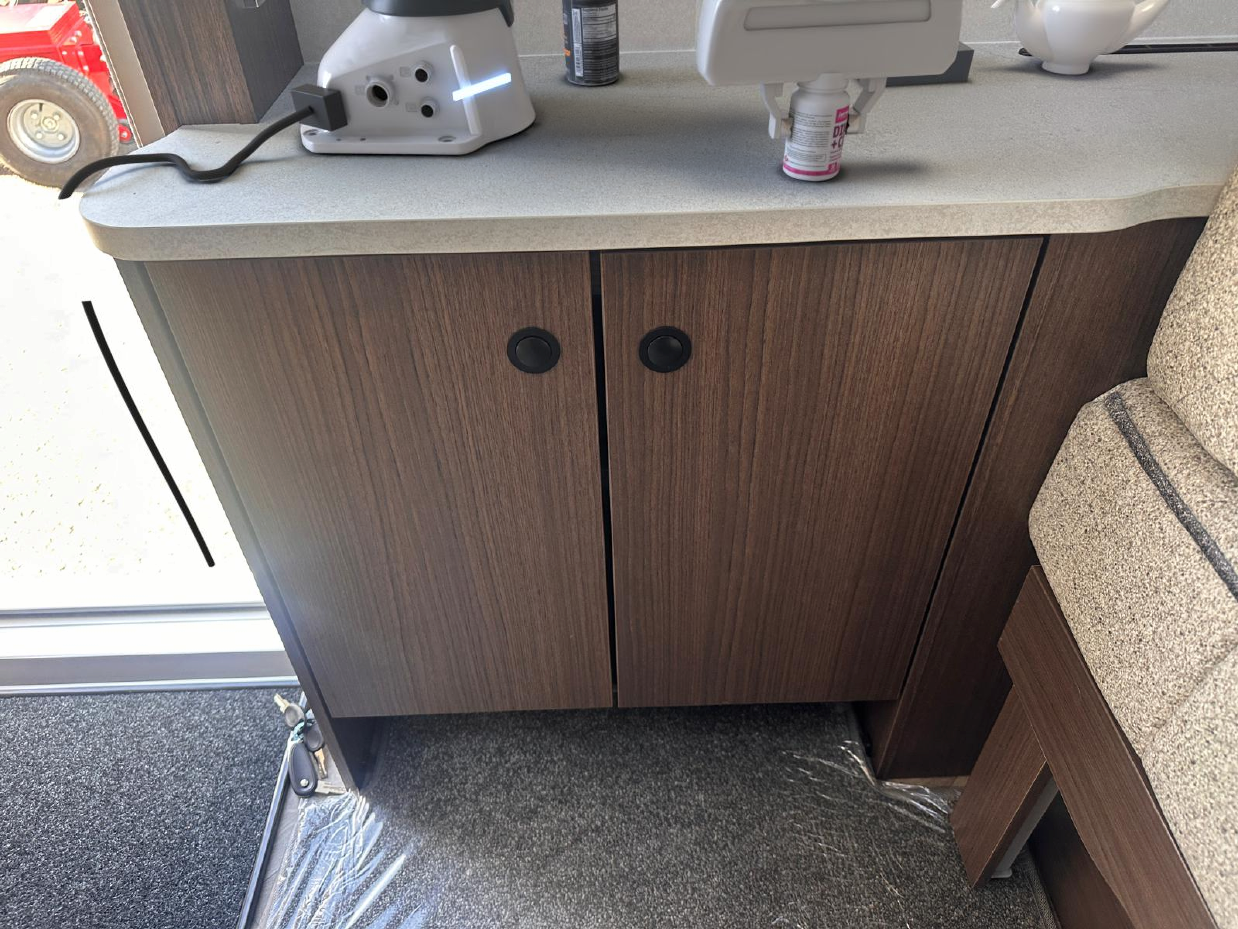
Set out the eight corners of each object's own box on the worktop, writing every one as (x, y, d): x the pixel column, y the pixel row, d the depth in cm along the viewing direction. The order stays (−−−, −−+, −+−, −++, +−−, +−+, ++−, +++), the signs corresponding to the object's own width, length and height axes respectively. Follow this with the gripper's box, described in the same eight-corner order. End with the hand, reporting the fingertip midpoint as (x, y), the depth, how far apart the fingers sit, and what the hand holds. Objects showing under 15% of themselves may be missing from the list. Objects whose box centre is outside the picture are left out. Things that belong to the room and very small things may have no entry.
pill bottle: (838, 184, 69) (855, 76, 64) (780, 180, 70) (792, 73, 65) (839, 162, 73) (855, 58, 67) (783, 159, 74) (795, 56, 68)
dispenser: (867, 87, 89) (875, 36, 85) (840, 63, 95) (847, 15, 92) (967, 82, 89) (979, 30, 86) (933, 58, 96) (943, 10, 93)
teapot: (960, 58, 96) (982, -35, 90) (1134, 54, 96) (1167, -39, 90) (990, 83, 89) (1015, -16, 83) (1178, 79, 89) (1217, -20, 83)
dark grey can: (574, 69, 96) (568, -45, 88) (624, 71, 95) (623, -44, 87) (560, 85, 91) (552, -34, 84) (613, 87, 90) (610, -33, 83)
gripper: (960, -73, 64) (921, 115, 73) (696, -62, 62) (689, 128, 71) (998, -59, 59) (951, 140, 68) (712, -46, 57) (703, 155, 66)
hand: (815, 134), depth 69 cm, fingers closed on pill bottle, 5 cm apart
